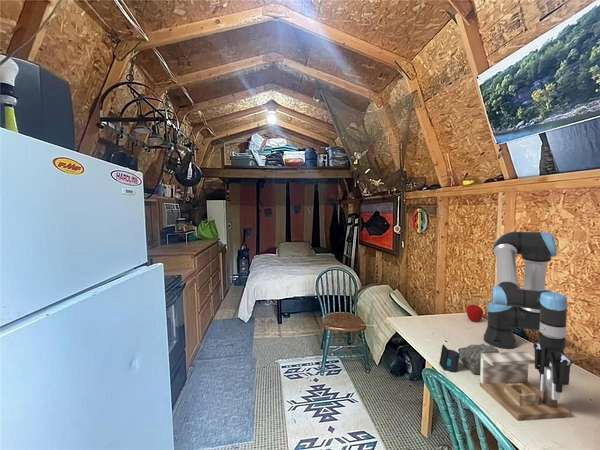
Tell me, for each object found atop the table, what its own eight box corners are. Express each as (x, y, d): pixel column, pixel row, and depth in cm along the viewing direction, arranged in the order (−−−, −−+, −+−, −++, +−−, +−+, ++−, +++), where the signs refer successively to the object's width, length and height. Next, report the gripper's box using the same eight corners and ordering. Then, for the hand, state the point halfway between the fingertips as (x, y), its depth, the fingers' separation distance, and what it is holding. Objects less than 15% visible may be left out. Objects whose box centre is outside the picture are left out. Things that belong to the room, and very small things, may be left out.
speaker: (439, 370, 135) (442, 348, 134) (439, 364, 140) (441, 343, 139) (458, 374, 132) (460, 353, 131) (456, 368, 137) (459, 348, 136)
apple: (469, 323, 187) (469, 307, 186) (463, 317, 196) (463, 302, 195) (485, 324, 185) (486, 307, 184) (479, 318, 194) (479, 302, 194)
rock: (514, 374, 125) (503, 354, 138) (496, 349, 125) (487, 331, 139) (473, 388, 132) (466, 367, 146) (456, 364, 132) (451, 345, 146)
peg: (550, 400, 110) (551, 365, 109) (560, 407, 106) (561, 371, 105) (540, 400, 110) (541, 365, 109) (549, 408, 106) (551, 371, 105)
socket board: (524, 383, 124) (525, 351, 123) (570, 417, 104) (571, 378, 103) (479, 385, 123) (480, 353, 122) (517, 420, 103) (518, 381, 102)
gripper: (523, 325, 114) (522, 381, 116) (565, 346, 98) (562, 411, 99) (541, 324, 115) (539, 380, 116) (585, 345, 98) (583, 410, 99)
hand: (550, 394), depth 108 cm, fingers closed on peg, 4 cm apart
